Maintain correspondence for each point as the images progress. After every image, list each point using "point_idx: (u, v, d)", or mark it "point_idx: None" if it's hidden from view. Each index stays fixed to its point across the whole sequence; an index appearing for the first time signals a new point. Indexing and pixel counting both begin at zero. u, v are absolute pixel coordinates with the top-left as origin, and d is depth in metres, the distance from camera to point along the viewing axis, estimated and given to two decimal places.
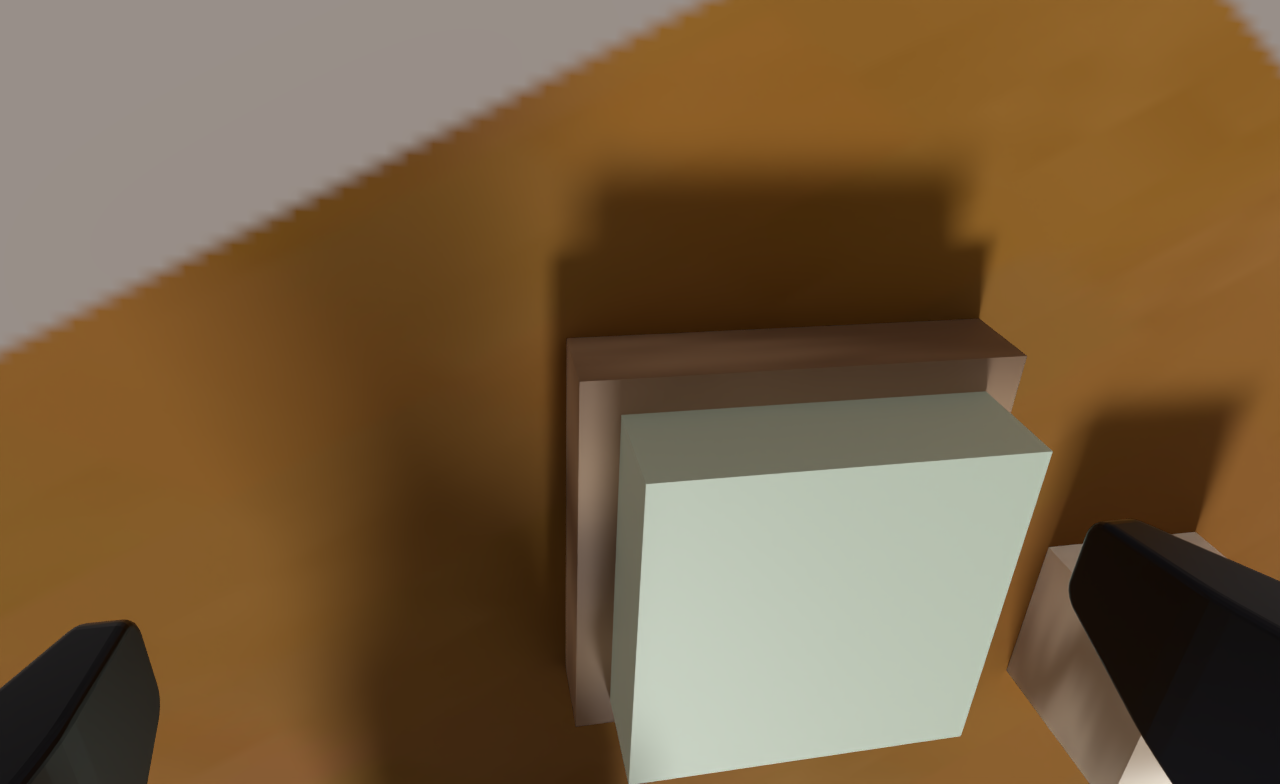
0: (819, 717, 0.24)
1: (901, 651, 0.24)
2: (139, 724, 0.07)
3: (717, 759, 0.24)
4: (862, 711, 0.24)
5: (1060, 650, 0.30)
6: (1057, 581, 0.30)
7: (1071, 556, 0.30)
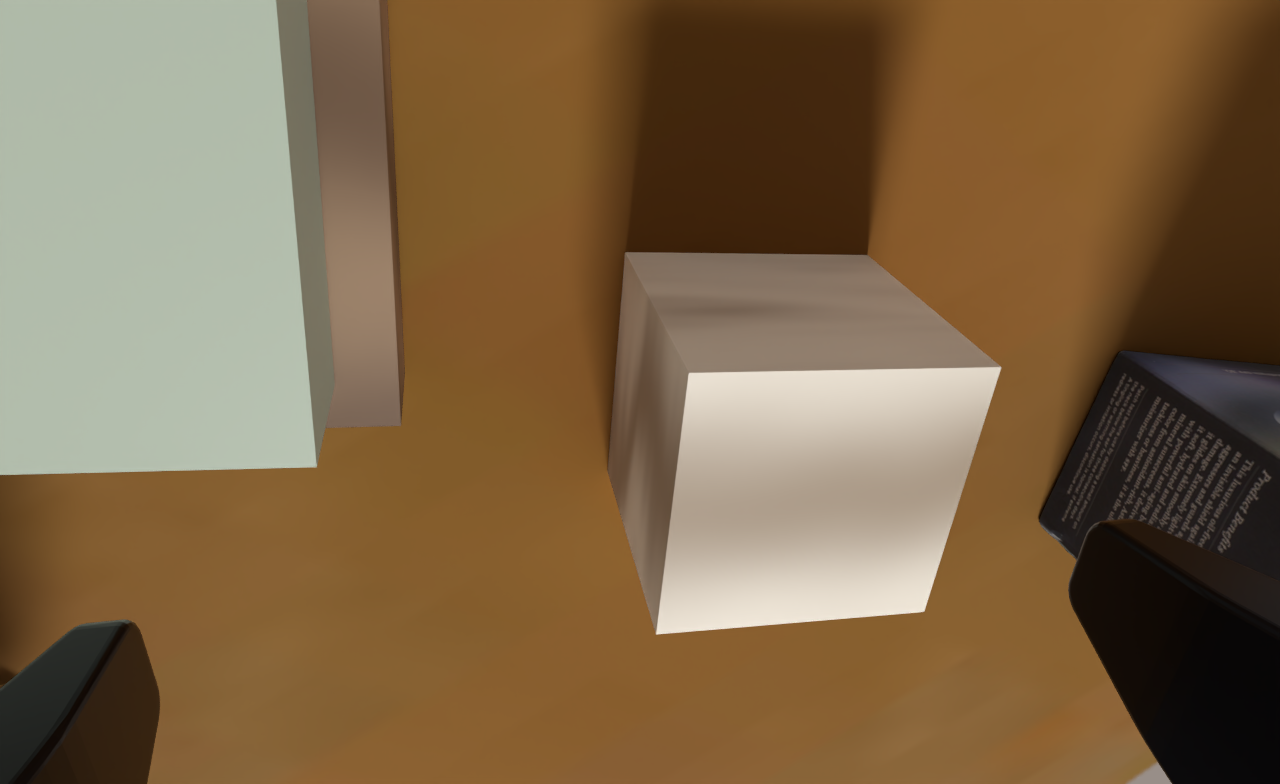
0: None
1: (99, 248, 0.13)
2: (139, 724, 0.07)
3: None
4: (72, 382, 0.13)
5: (631, 407, 0.20)
6: (629, 299, 0.20)
7: (650, 261, 0.20)
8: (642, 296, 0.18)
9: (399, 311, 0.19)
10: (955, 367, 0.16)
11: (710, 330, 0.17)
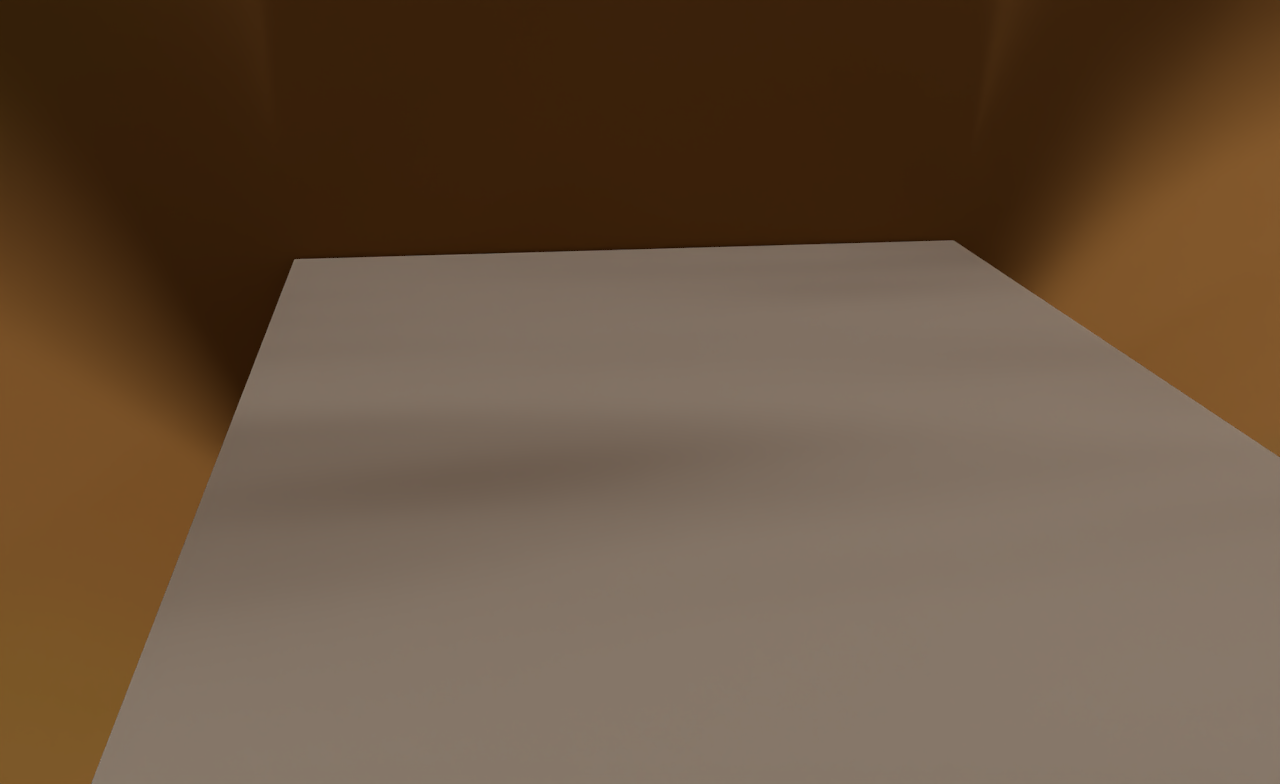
0: None
1: None
2: None
3: None
4: None
5: None
6: None
7: (346, 287, 0.07)
8: None
9: None
10: None
11: (366, 609, 0.04)
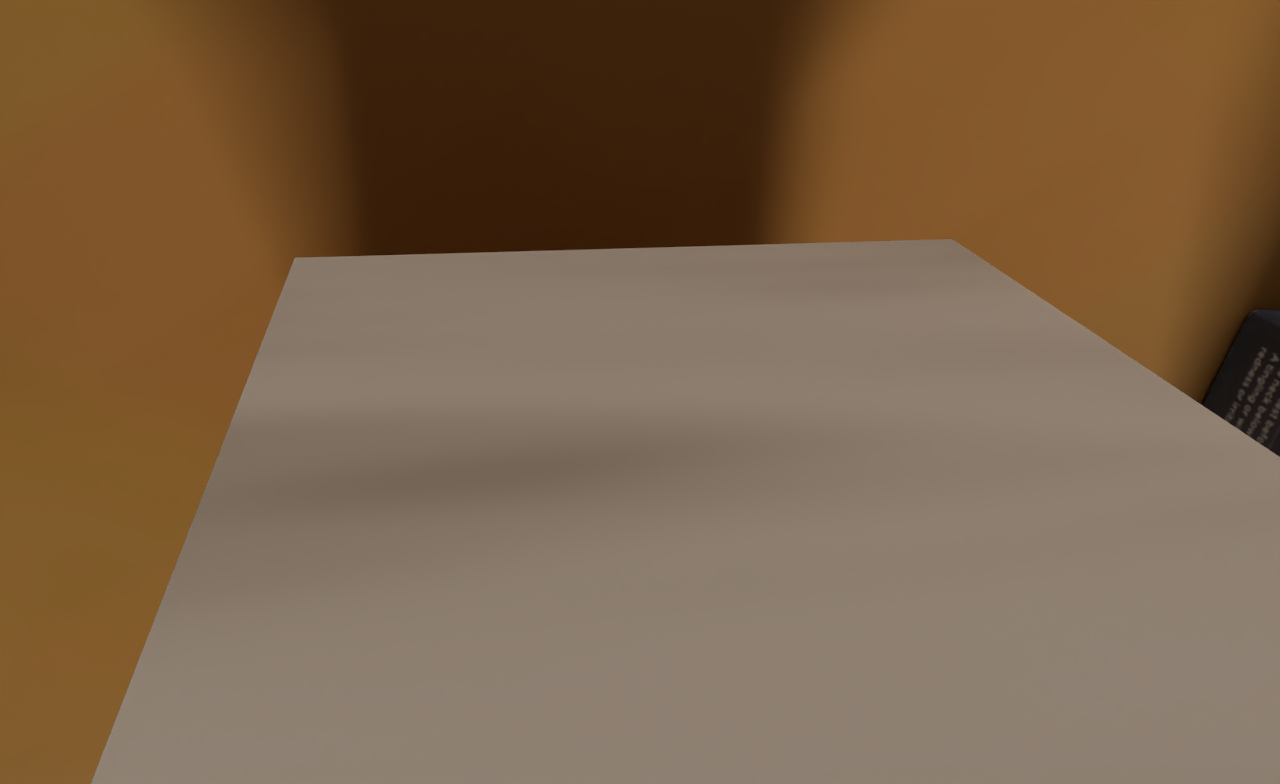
0: None
1: None
2: None
3: None
4: None
5: None
6: None
7: (347, 286, 0.07)
8: None
9: None
10: None
11: (370, 605, 0.04)
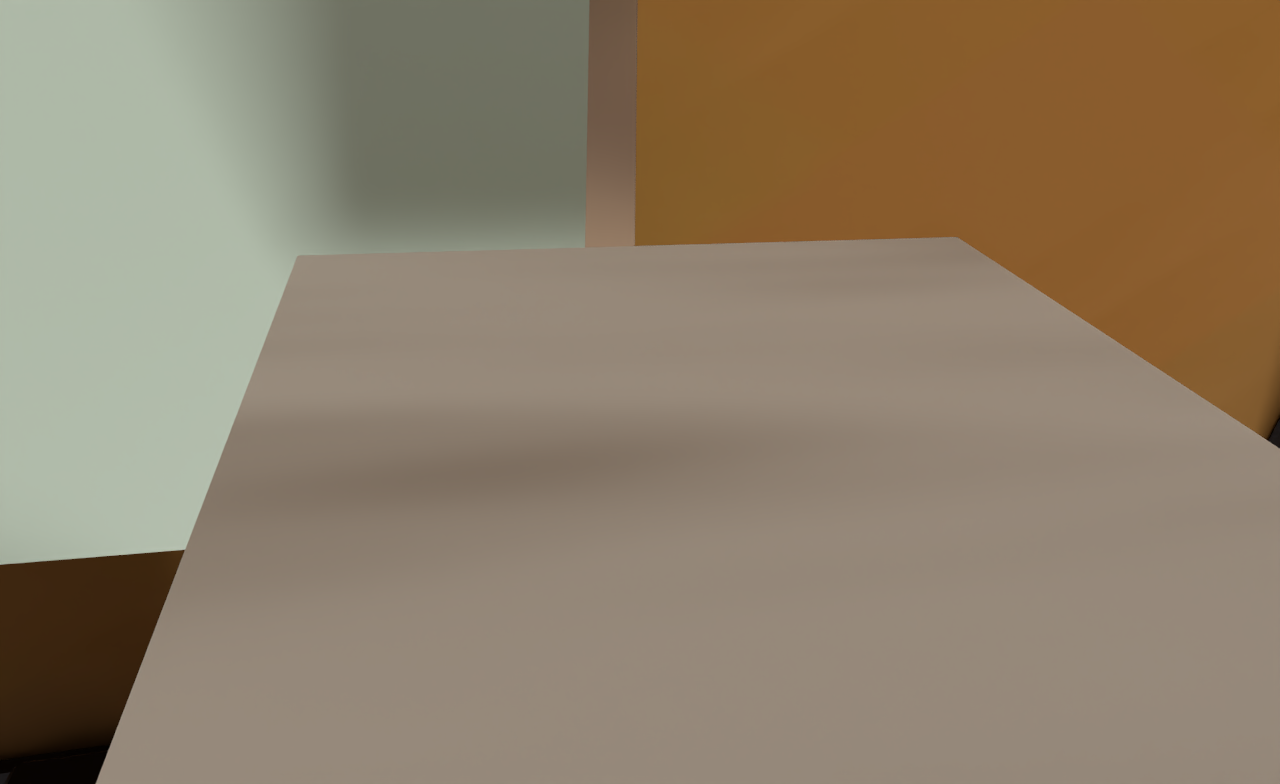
0: None
1: None
2: None
3: (73, 529, 0.13)
4: None
5: None
6: None
7: (350, 283, 0.07)
8: None
9: None
10: None
11: (374, 603, 0.04)
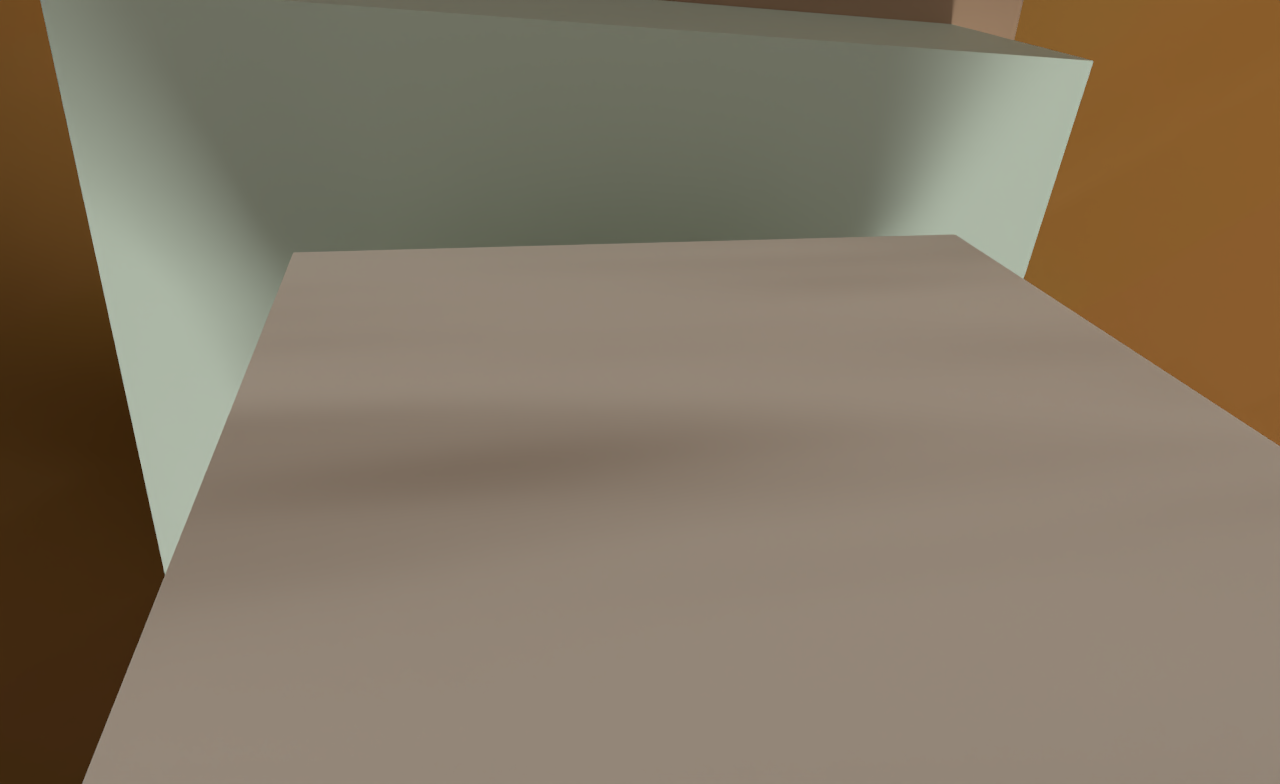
0: None
1: None
2: None
3: None
4: None
5: None
6: None
7: (345, 280, 0.07)
8: None
9: None
10: None
11: (364, 599, 0.04)
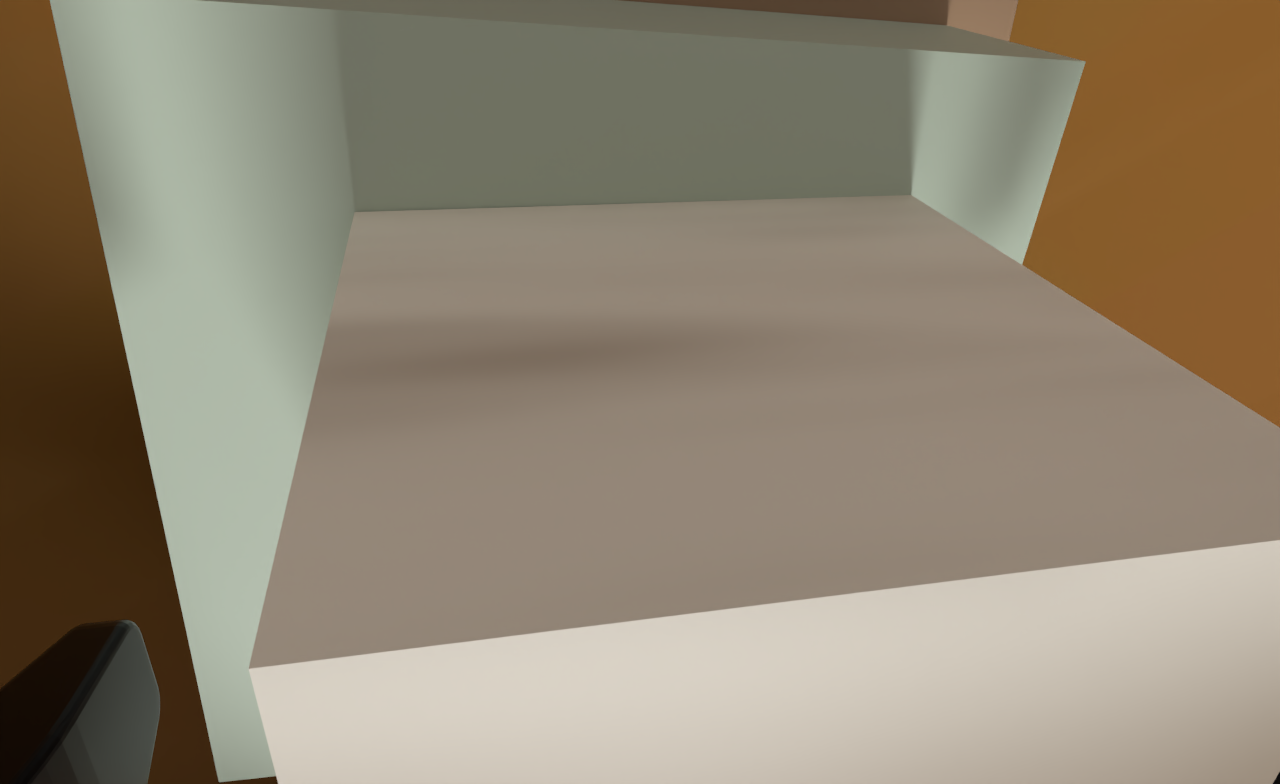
0: None
1: None
2: (139, 724, 0.07)
3: None
4: None
5: None
6: None
7: (402, 231, 0.08)
8: None
9: None
10: (1278, 535, 0.05)
11: (452, 434, 0.05)
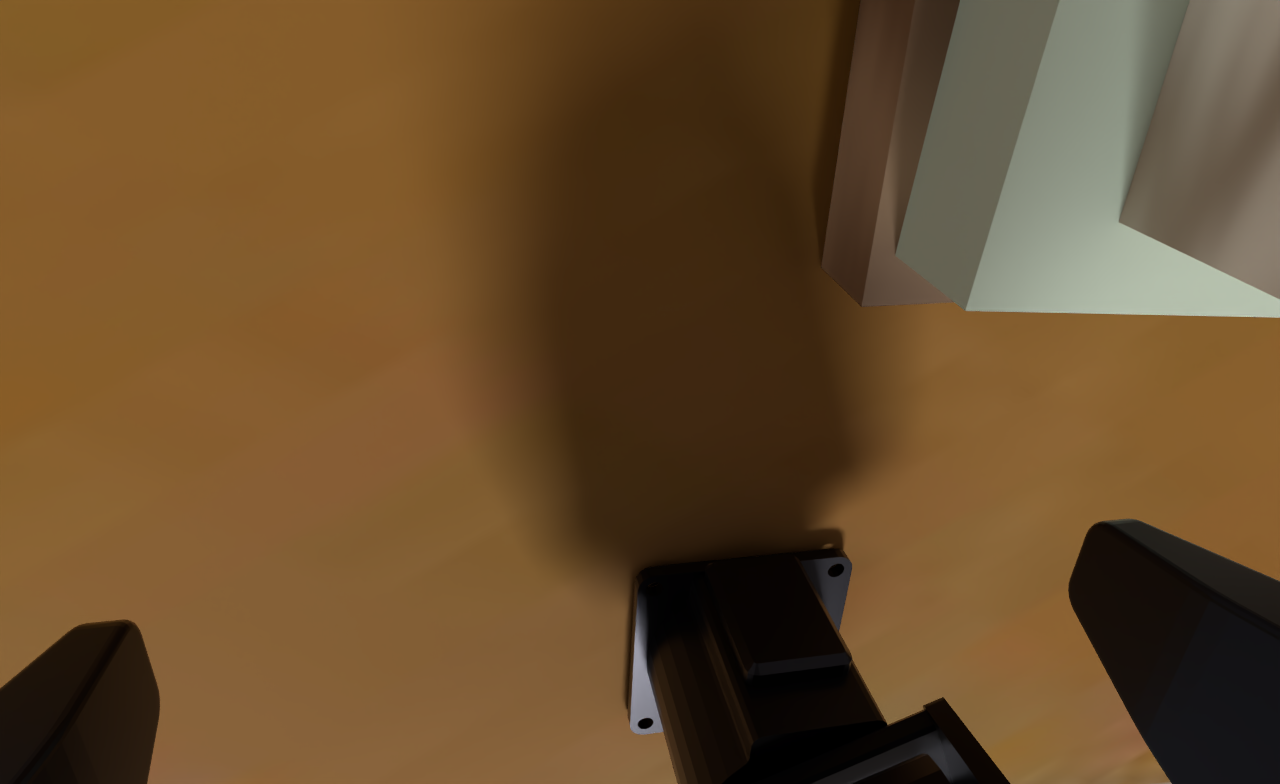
0: None
1: None
2: (139, 724, 0.07)
3: (1087, 288, 0.17)
4: None
5: (1274, 66, 0.13)
6: None
7: None
8: None
9: None
10: None
11: None
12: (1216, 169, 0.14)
